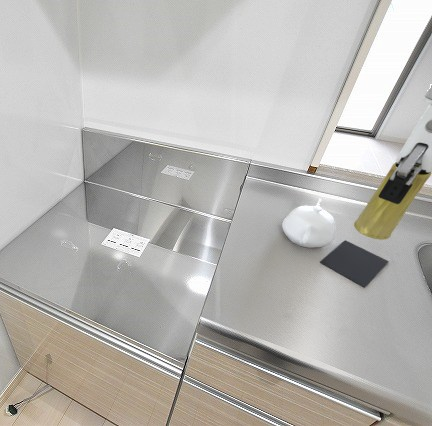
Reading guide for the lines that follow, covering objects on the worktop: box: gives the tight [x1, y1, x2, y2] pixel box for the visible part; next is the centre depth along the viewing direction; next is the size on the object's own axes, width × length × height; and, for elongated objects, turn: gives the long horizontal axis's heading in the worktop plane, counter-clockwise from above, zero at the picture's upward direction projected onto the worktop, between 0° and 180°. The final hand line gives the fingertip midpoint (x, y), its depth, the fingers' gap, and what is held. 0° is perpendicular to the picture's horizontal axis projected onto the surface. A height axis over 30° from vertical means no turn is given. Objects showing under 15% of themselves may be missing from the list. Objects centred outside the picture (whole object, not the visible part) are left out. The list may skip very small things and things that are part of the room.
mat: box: [319, 239, 389, 289], centre depth 74 cm, size 10×14×1 cm
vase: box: [353, 161, 432, 240], centre depth 56 cm, size 6×6×14 cm
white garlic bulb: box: [281, 197, 336, 249], centre depth 80 cm, size 20×12×10 cm, turn 142°
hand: (395, 193), depth 55 cm, fingers closed on vase, 5 cm apart
